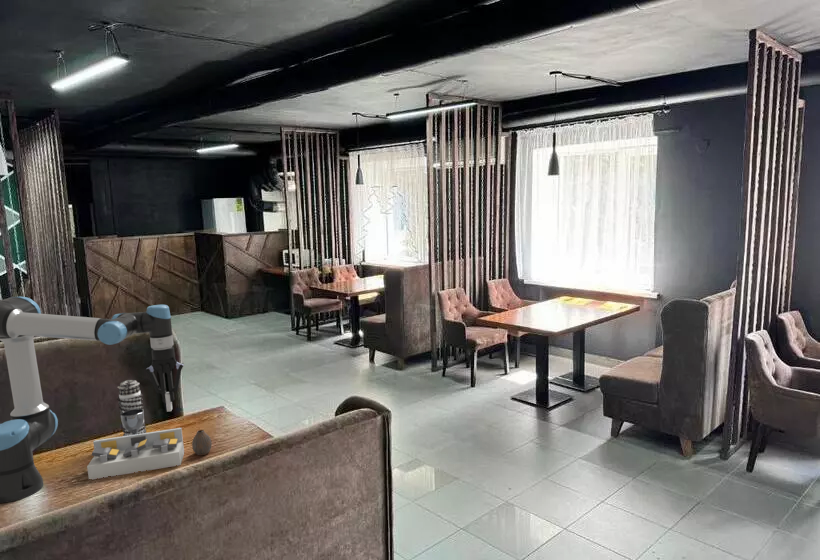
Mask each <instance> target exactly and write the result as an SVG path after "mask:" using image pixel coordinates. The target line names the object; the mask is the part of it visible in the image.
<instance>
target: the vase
mask: <svg viewBox="0 0 820 560" xmlns="http://www.w3.org/2000/svg"><path fill="white" fill-rule="evenodd" d="M212 443H213V442H212V439H211V437H210V436H209V434H208V433H206V432H205V430H204V429H199V430H197V431H196V434H195V435H194V436H193V439H192V441H191V446H192V447H191V448H192V451H193V452H194V453H195V454H196V455H197V456H203V455H208V453H209V452H210V451H211V449H212Z"/></svg>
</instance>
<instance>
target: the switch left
mask: <svg viewBox="0 0 820 560" xmlns="http://www.w3.org/2000/svg"><path fill="white" fill-rule="evenodd" d="M119 452H120V450H117V449H110V448H109V447H107V448H101V447H96V448H95V449H94V448H93V450H92V452H91V456H92V457H94V456H98V457H100V455H105V454H107V458H113V459H116V458H117V456H118V454H119Z"/></svg>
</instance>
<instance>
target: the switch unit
mask: <svg viewBox="0 0 820 560" xmlns="http://www.w3.org/2000/svg"><path fill="white" fill-rule="evenodd" d="M182 429H183V427H177V428H171V429H170V428H169V429H163V430H157V431H151V432H146V433H142V434H135V435H128V436H123V435H122V436H116V437H109V438H102V439H97V440H96V439H95V440H93V443H92V444H93V450H94V449H95V448H96V447H101V448H107V447H109V448H110V449H117V450H120V452H119V454H118V456H117V458H116V459H113V458H107V454H105V455H100V457H98V456H92V459H90V462H89V463H88V464H87V466H86V469H87V474H88V475H87V477H88V480H89V479H92V480H96V479H97V478H98V479H104V478H109V477H108V476H111V477H116V475H117V476H121V475H128V474H134V472H135V473H139V472H138V471H141V472H147V471H151V470H158V469H159V470H160V469H165V468H170V467H171V468H172V467H177V466H181V464H182V462H183V459H184V454H185V448H184V440H183V439H184V438H183V430H182ZM166 438H167V439H178V444H177V447H173V448H168V447H167V445H163V446H161V448H153V444H154V441H155V440H165V439H166ZM146 439H148V441H149V443H148V445H147V447H146V448H144V449H142V450H139V451H138V450H131V455H129V456H127V457H125V458H124V456H123V454H124V452H125V450H126V449H127V448H130V447H132V446H134V445H135V444H136V443H140V442H141V441H144V440H146ZM176 465H177V466H176ZM146 470H147V471H146ZM103 477H104V478H103Z"/></svg>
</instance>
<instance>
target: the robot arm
mask: <svg viewBox="0 0 820 560" xmlns="http://www.w3.org/2000/svg"><path fill="white" fill-rule="evenodd" d="M111 317H112V318H101V317H100V318H99V317H90V316H89V317H87V316H78V315H77V316H73V315H62V314H49V313H42V311H41V309H40V306H39V304H38V303H37V302H36V301H35V300H33V299H31V298H30V297H26V296H11V297H8V298H4V299H1V300H0V341H1V342H2V343H3V345H4V346H3V347H4V352H5V358H6V365H7V370H8V376H9V384H10V389H11V394H12V401H13V407H14V409H13V410H12V411H11V412H10V420H7V421H3V423H0V504H2V503H3V504H4V503H10V502H14V501H18V500H21V499H24V498H27V497H30V496H31V495H33V494H35V493H37V492H39V491H40V490H41V489H42V488H43V487H44V479H43V476H42V475H41V473H40V471H39V470H38V468H37V467H36V465H35V461H34V455H33V454H34V453H33V451H34V450H35V449H37V448H38V447H39V446H41V445H43V444H44V443H46V442H47V441H49V440H50V439H51V437H52V436H53V435H55V433H56V431H57V429H58V425H59V423H58V422H59V419H58V417H57V414H56V413H55V412H53V411H52V410H51V409H50V405H49V404H48V403H46V402H45V401H44V400H43V399H44V398H43V391H42V387H41V386H42V385H41V380H40V373H39V368H38V360H37V355H36V354H37V353H36V348H35V347H36V346H35V342H34V341H35V340H34V337H40V338H42V337H43V338H54V339H55V338H56V339H70V340H83V341H96V342H101V343H103V344H105V345H107V346H108V345H109V346H110V345H115V344H119V343H121V342H123V341H124V340H125V339H127V338H129V337H130V336H132V335H135V334H147V333H149V340H150V341H149V342H150V348H151V357H152V362H151V365H150V366H149V367H147V368H146V369H145V371H144V372H146V374H147V375H148V376H149V379H150V381H151V384H152V386H153V388H154V391H155V393H156V394H161V397H162V398H161V400H162V403H165V404H166V413H167V412H172V410H173V402H174V401H175V392H177V391H179V387H180V382H181V381H180V380H181V374H182V370H183V367H184V366H185V364H184V363H180V362H178V360H177V359H176V354H175V347H174V344H175V342H174V336H173V329H172V328H173V326H172V316H171V312H170V307H169V306H168V305H167V304H154V305H149V306H147V308H146V311H143V312H142V311H141V312H140V311H139V312H122V313H116V314H113V315H112V316H111ZM175 367H176V368H175ZM174 368H175V369H176V374H175V383H174V382H173V381H174V380H173V370H174ZM154 371H156V372H157V373H158V376H159V382H160V384H159V382H158V379H157V376H156V375H155V372H154ZM165 373H166V376H167V385H168V386H167V387H168V391H167V387H166V377H165Z"/></svg>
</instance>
